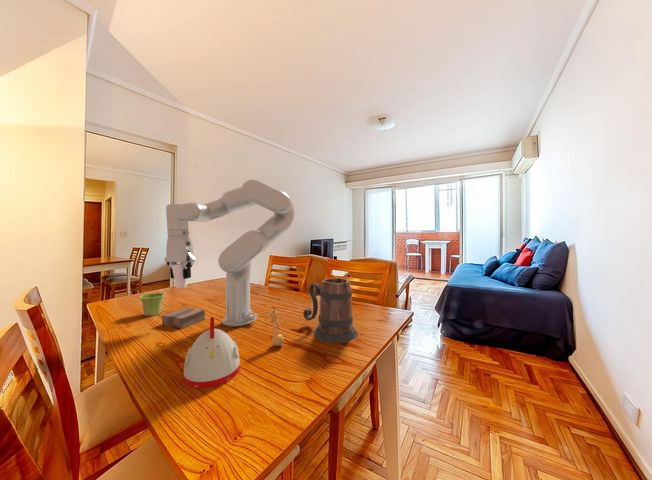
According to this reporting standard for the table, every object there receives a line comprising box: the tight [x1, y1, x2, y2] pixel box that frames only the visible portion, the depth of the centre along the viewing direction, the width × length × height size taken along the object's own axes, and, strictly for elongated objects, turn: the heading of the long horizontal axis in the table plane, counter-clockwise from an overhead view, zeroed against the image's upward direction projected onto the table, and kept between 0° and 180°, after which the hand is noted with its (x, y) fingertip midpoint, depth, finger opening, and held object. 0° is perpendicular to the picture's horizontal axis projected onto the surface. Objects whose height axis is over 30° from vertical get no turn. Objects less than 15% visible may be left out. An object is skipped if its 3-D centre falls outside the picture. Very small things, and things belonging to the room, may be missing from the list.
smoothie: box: [171, 262, 188, 289], centre depth 104 cm, size 6×6×14 cm
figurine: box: [264, 308, 287, 347], centre depth 85 cm, size 8×6×12 cm
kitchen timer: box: [183, 316, 241, 389], centre depth 68 cm, size 14×14×15 cm
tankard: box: [302, 277, 359, 344], centre depth 97 cm, size 24×17×20 cm
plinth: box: [161, 307, 206, 329], centre depth 106 cm, size 11×11×4 cm
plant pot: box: [139, 292, 166, 317], centre depth 115 cm, size 9×9×9 cm
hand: (180, 277), depth 104 cm, fingers closed on smoothie, 6 cm apart
